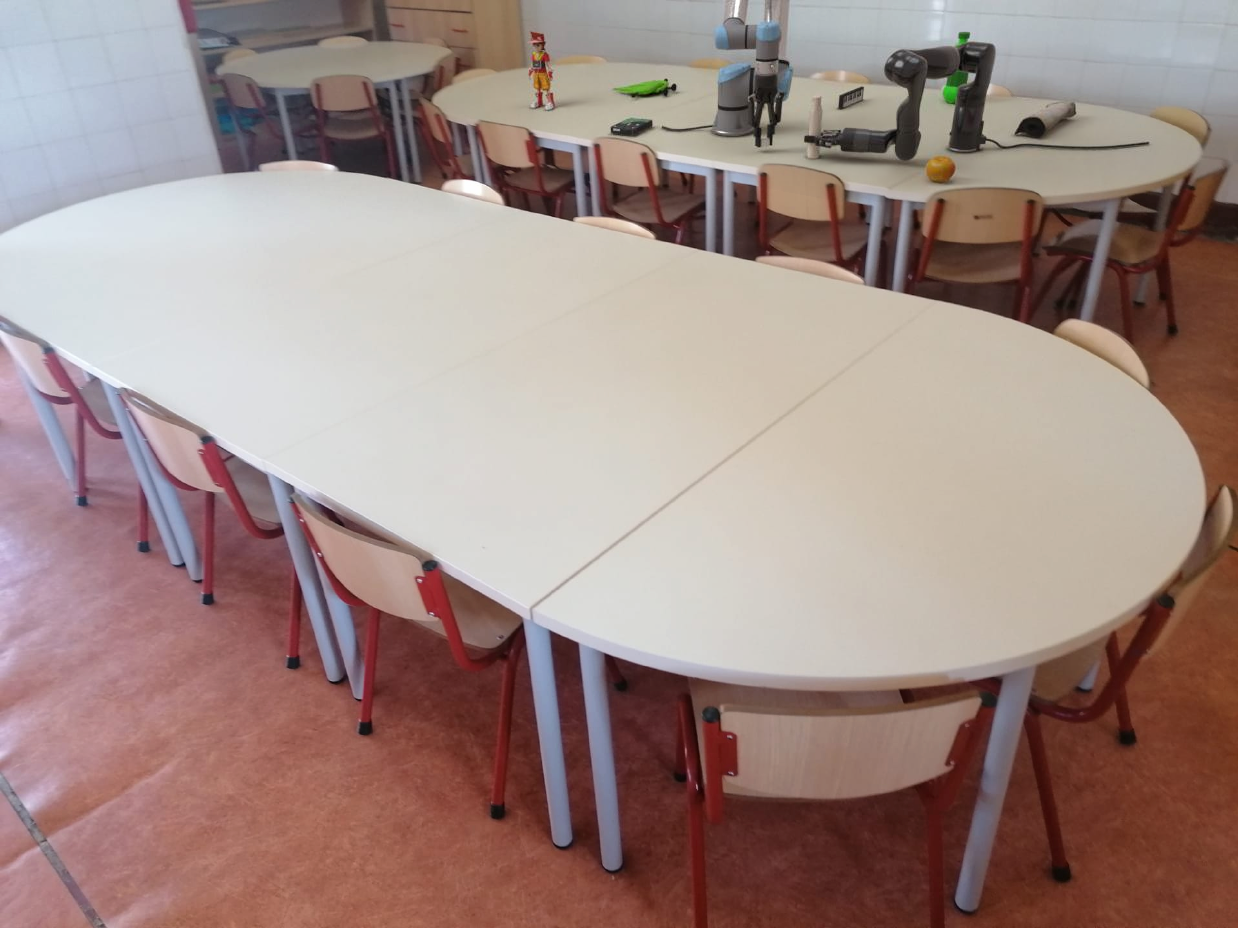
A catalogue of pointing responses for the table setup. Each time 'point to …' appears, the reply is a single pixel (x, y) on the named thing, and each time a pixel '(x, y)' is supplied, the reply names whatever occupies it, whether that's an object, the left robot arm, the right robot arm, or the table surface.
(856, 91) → the midi keyboard
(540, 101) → the toy
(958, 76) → the plastic bottle
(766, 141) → the cap
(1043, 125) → the rolled mat
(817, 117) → the bottle
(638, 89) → the toy
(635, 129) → the disk drive
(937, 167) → the fruit
